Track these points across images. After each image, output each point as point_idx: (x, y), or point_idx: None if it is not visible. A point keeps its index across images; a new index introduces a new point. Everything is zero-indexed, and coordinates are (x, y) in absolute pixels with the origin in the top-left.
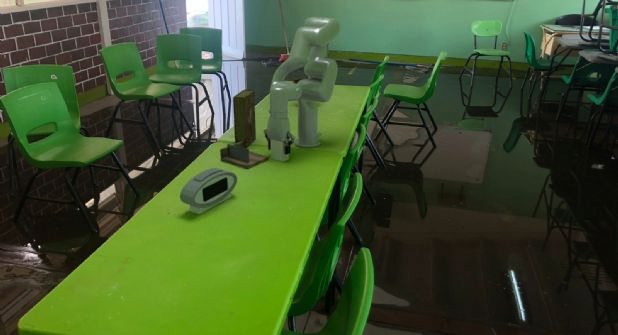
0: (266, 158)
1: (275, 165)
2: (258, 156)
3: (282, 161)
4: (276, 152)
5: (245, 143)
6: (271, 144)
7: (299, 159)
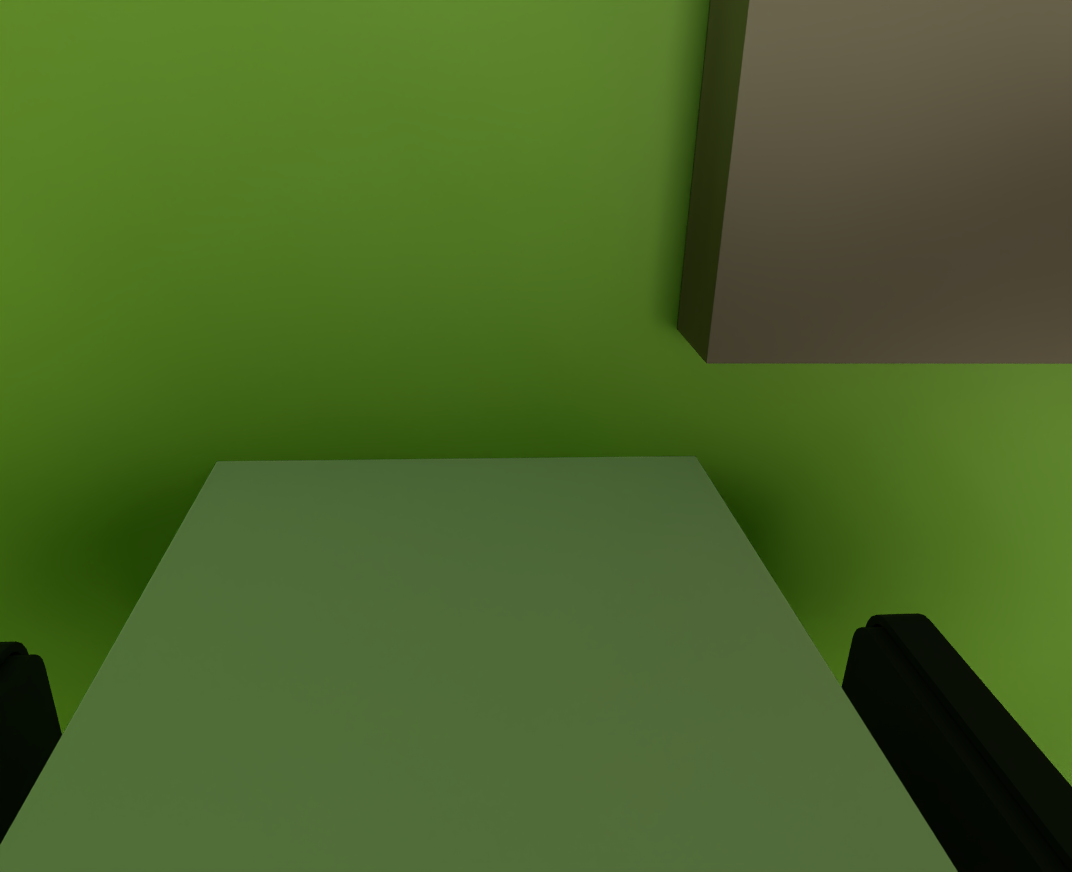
0: (712, 236)
1: (147, 52)
2: (1042, 150)
3: (231, 466)
4: (478, 599)
5: None
6: (851, 818)
7: None
